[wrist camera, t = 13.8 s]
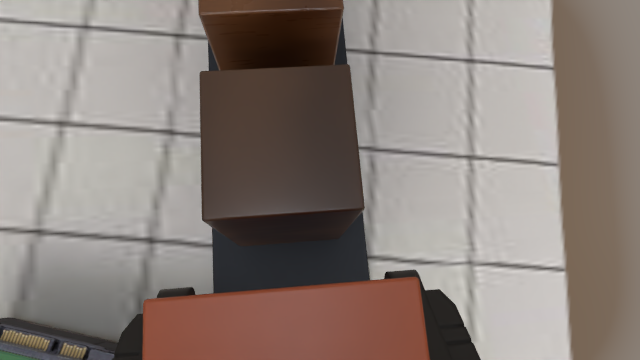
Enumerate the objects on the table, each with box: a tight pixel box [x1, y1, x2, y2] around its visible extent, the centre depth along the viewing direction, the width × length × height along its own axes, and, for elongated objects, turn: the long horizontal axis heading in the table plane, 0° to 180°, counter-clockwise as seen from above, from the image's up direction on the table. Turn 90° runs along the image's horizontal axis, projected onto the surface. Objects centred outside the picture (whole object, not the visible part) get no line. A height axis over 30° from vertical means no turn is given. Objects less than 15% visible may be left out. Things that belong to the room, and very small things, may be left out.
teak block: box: [198, 0, 344, 70], centre depth 18 cm, size 5×5×8 cm
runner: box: [208, 18, 369, 293], centre depth 21 cm, size 7×27×1 cm, turn 5°
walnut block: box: [200, 64, 365, 246], centre depth 17 cm, size 5×5×8 cm
